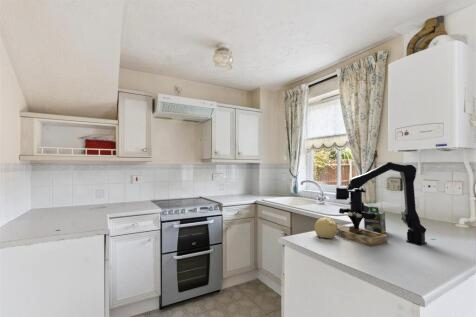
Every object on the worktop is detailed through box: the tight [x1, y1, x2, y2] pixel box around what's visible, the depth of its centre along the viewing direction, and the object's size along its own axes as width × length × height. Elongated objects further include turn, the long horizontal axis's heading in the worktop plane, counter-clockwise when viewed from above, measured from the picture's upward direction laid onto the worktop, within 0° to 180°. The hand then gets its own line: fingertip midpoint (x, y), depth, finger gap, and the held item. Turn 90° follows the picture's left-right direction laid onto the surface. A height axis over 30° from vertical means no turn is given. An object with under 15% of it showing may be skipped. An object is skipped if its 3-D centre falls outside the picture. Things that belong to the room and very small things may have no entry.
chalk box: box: [363, 206, 387, 234], centre depth 140 cm, size 9×9×15 cm
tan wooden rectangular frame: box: [339, 227, 388, 247], centre depth 126 cm, size 18×13×4 cm
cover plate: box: [336, 223, 362, 233], centre depth 136 cm, size 15×10×4 cm, turn 30°
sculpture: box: [314, 216, 338, 239], centre depth 131 cm, size 11×12×11 cm
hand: (356, 228), depth 129 cm, fingers closed
